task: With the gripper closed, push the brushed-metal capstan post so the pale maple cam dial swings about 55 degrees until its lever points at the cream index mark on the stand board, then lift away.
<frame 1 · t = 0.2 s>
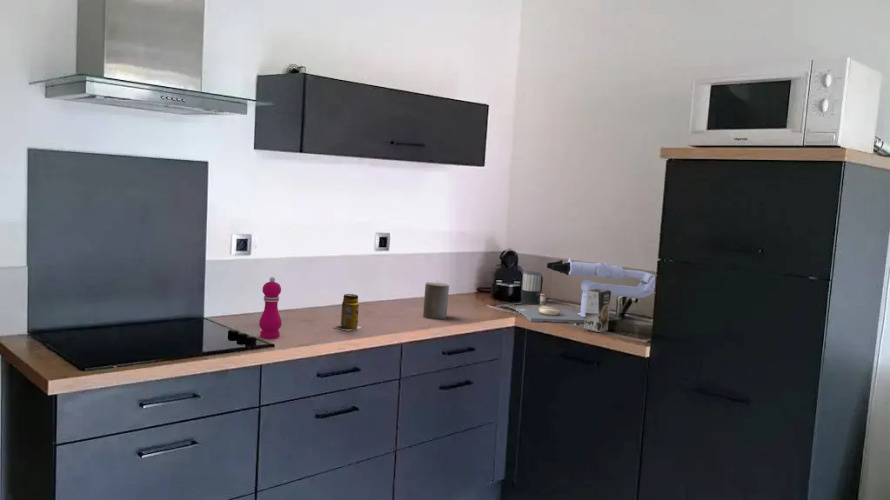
hand: (549, 266, 313), 21 cm above the worktop, tool horizontal, fingers open, 7 cm apart
pepper mill: (269, 337, 240), on the worktop
milk frother: (524, 301, 347), on the worktop
cam dial: (547, 304, 312), point 5 cm above the worktop, hinge at 0.0°
stand board: (550, 317, 310), on the worktop
condiment: (347, 328, 262), on the worktop
pillar candle: (435, 317, 294), on the worktop
coffee box: (595, 331, 287), on the worktop
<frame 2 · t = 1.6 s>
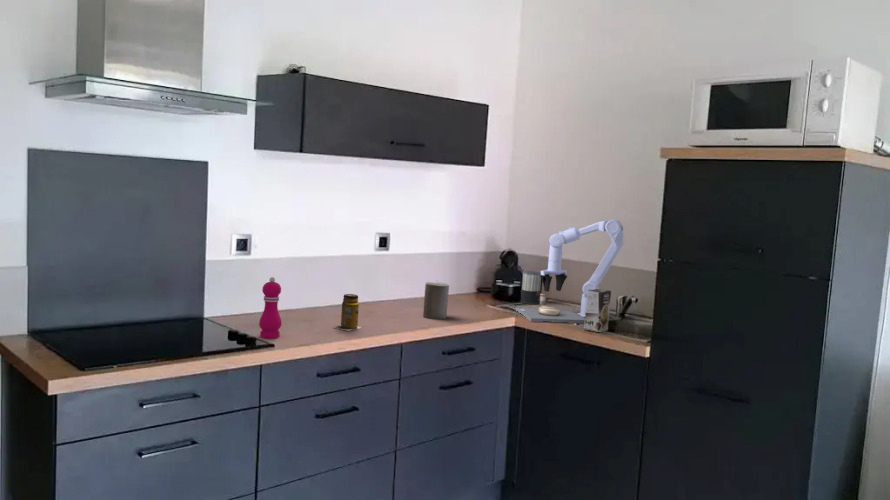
hand: (552, 291, 322), 9 cm above the worktop, tool pointing down, fingers open, 7 cm apart
nothing on the worktop moved.
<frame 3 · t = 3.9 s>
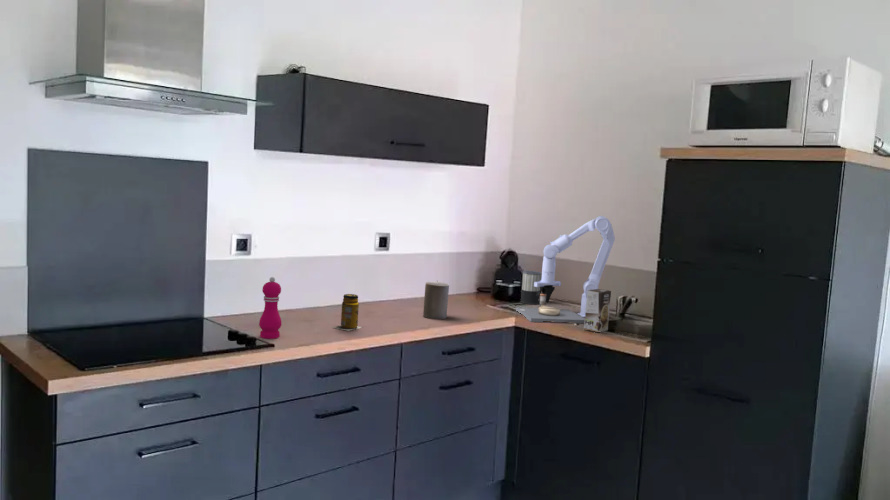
hand: (546, 302, 321), 4 cm above the worktop, tool pointing down, fingers closed
cam dial: (547, 304, 312), point 5 cm above the worktop, hinge at 0.3°, touching gripper
everything else where it was.
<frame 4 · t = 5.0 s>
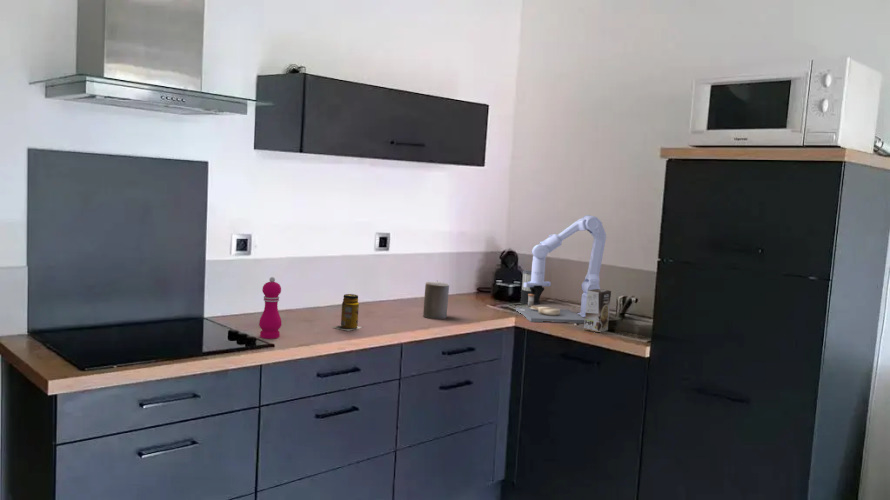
hand: (535, 303, 317), 4 cm above the worktop, tool pointing down, fingers closed
cam dial: (543, 304, 311), point 5 cm above the worktop, hinge at 36.9°, touching gripper
everything else where it was.
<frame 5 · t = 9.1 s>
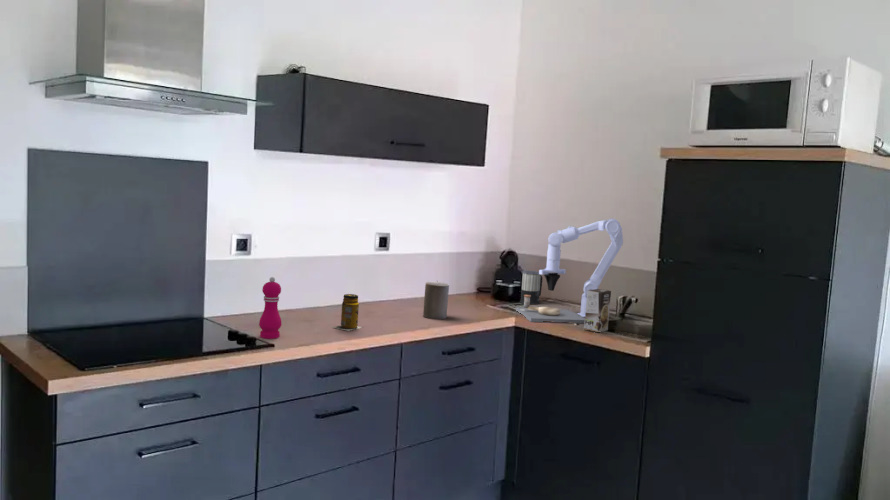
hand: (551, 290, 320), 10 cm above the worktop, tool pointing down, fingers closed
cam dial: (541, 304, 310), point 5 cm above the worktop, hinge at 58.9°
everything else where it was.
at the end: cam dial at +59° (first picture: +0°) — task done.
